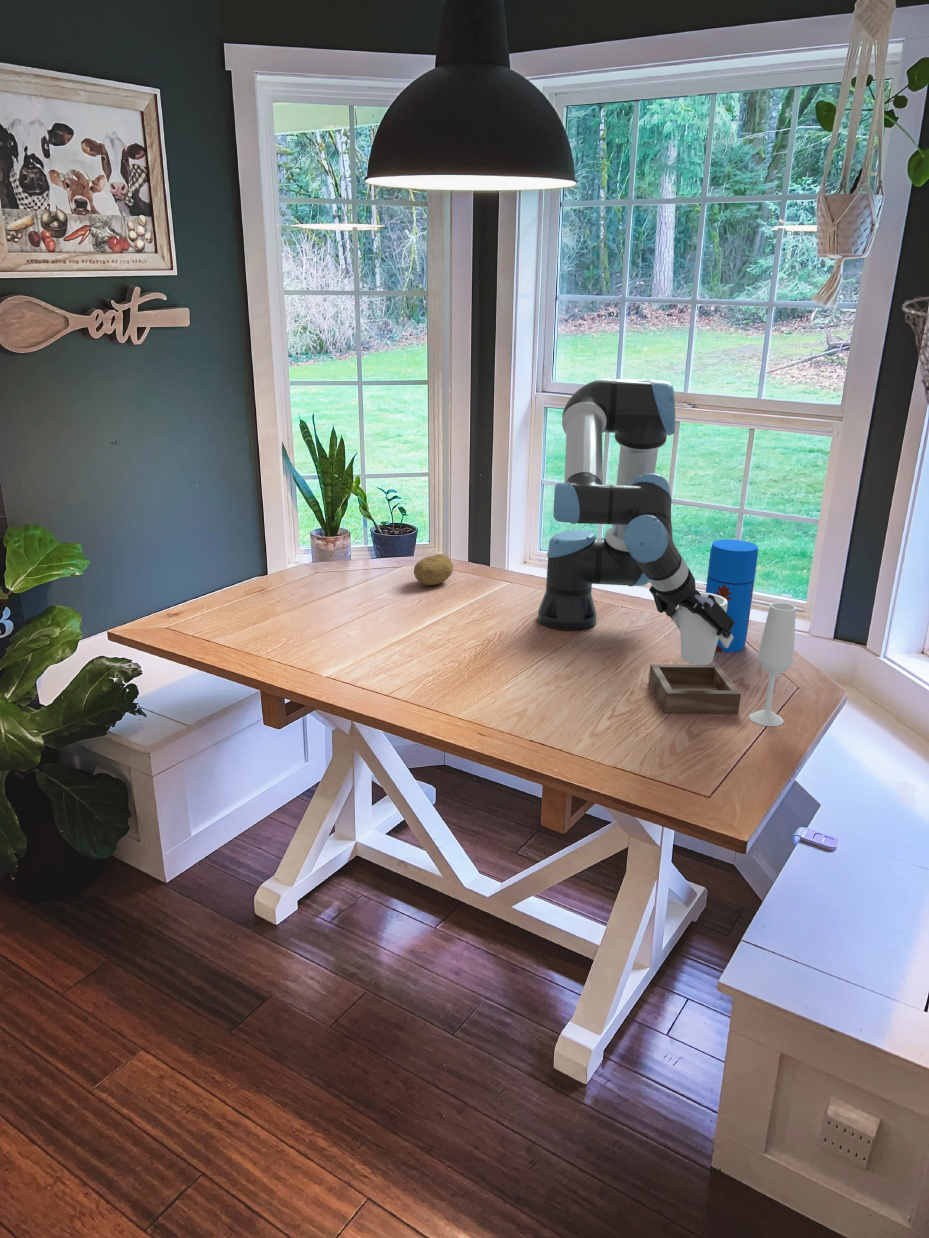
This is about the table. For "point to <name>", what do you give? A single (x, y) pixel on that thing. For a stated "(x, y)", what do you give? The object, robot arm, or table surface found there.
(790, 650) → the champagne flute
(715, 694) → the square wooden tray
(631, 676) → the table surface
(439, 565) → the potato
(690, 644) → the foam cup
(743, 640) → the thermos
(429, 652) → the table surface
